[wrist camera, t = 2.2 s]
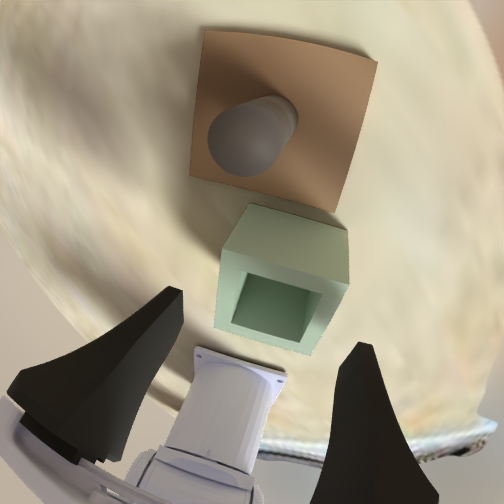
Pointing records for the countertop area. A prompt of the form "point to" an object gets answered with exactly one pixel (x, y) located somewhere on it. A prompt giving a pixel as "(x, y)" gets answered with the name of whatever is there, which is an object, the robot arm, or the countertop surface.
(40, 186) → the countertop surface
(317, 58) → the post base
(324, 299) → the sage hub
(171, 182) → the countertop surface
